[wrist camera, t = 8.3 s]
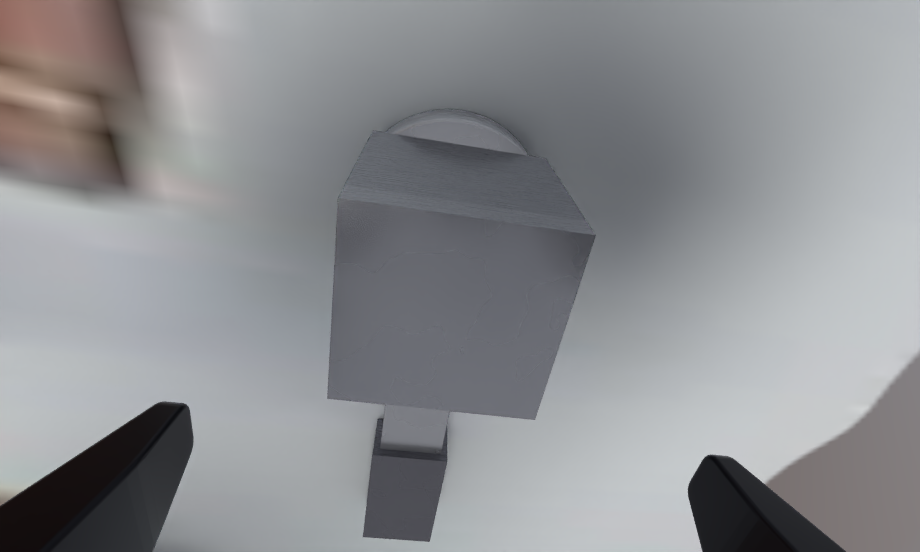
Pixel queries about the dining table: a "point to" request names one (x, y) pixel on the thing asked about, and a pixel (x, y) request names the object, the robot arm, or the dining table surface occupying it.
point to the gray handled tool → (408, 428)
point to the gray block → (452, 277)
